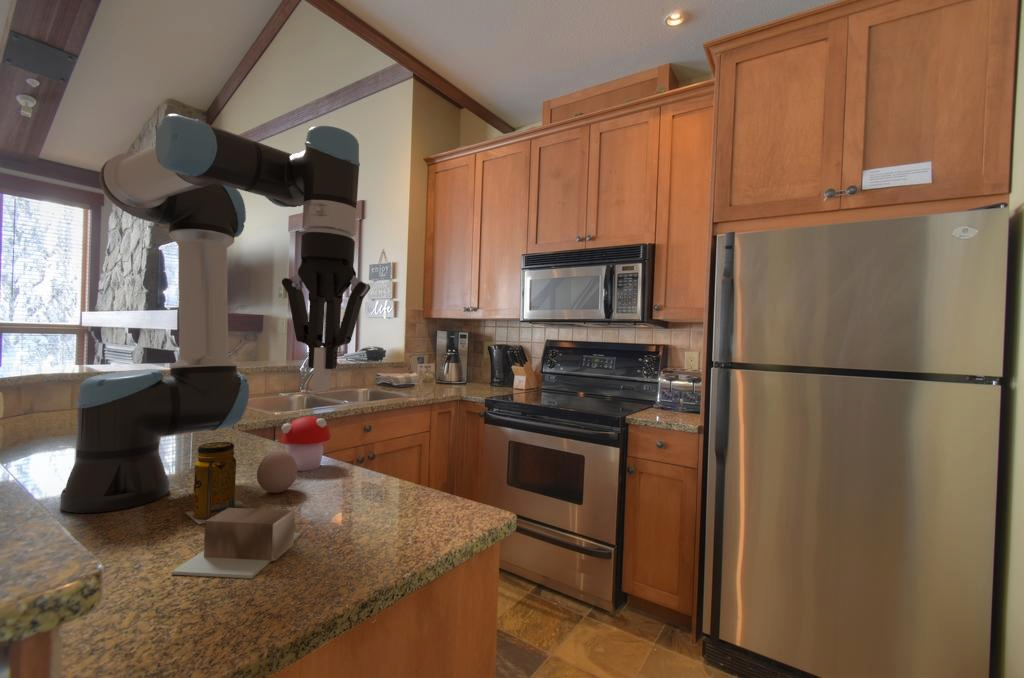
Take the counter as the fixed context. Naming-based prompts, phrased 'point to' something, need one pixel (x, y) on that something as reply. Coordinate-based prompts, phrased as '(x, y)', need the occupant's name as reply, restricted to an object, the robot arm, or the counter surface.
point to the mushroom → (306, 441)
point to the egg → (277, 471)
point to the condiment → (214, 481)
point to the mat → (222, 566)
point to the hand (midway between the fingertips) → (321, 390)
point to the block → (249, 534)
